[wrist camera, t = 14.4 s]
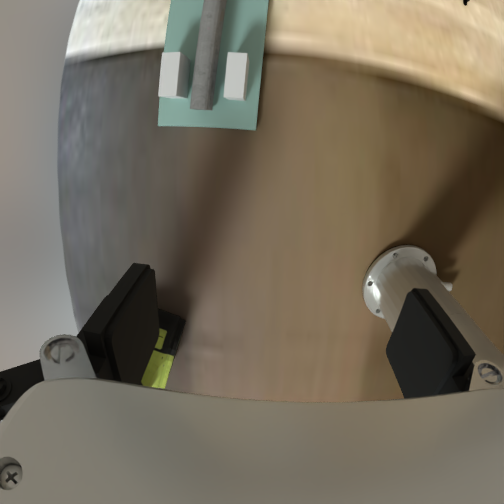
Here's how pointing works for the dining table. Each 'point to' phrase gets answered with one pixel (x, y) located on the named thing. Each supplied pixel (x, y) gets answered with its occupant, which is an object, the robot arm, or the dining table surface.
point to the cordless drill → (163, 350)
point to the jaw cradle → (228, 70)
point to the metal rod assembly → (207, 54)
